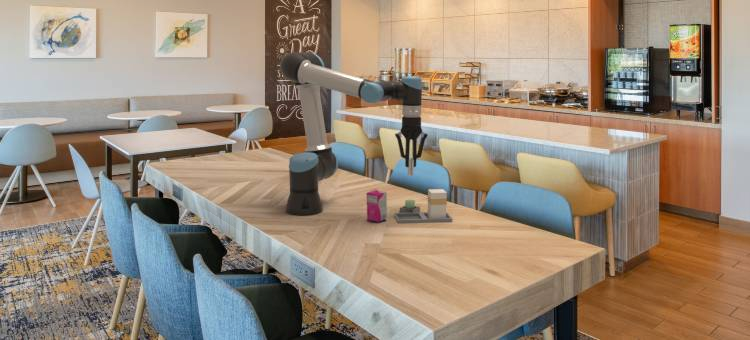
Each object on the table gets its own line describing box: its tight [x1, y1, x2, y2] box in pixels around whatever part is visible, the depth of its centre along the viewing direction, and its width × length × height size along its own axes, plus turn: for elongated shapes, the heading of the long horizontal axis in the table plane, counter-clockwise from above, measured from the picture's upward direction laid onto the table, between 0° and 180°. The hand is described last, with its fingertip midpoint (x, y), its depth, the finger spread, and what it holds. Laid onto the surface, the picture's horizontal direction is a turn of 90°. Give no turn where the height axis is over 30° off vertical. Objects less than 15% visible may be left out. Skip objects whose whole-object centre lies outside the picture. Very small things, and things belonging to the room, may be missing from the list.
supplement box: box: [366, 189, 388, 224], centre depth 225 cm, size 6×6×12 cm
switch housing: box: [399, 205, 421, 213], centre depth 234 cm, size 6×6×3 cm
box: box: [427, 188, 448, 219], centre depth 224 cm, size 6×6×11 cm
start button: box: [404, 199, 416, 209], centre depth 234 cm, size 4×4×4 cm
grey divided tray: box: [393, 211, 453, 224], centre depth 225 cm, size 21×10×2 cm, turn 97°
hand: (410, 174), depth 231 cm, fingers closed
